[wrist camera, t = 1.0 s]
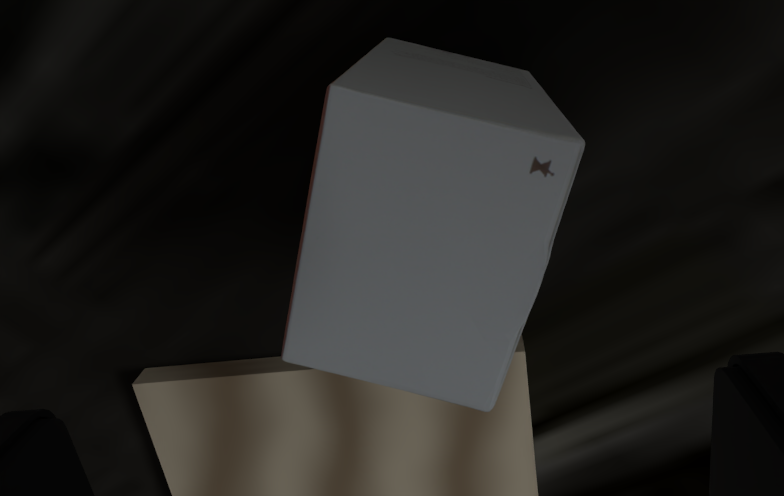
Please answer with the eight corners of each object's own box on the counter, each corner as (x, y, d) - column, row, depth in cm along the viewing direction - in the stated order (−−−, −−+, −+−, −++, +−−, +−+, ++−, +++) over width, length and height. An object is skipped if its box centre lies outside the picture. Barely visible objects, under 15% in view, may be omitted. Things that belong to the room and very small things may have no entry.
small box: (384, 34, 26) (325, 74, 14) (532, 69, 26) (596, 138, 14) (348, 212, 30) (275, 366, 18) (480, 243, 30) (498, 419, 18)
